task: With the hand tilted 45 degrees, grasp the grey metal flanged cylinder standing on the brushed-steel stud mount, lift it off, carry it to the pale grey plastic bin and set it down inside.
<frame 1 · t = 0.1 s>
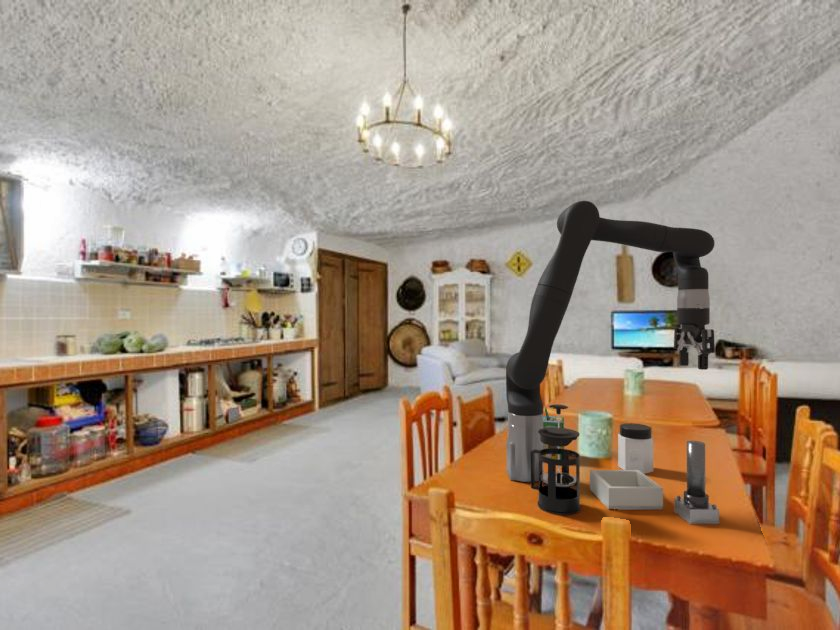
hand: (693, 367, 124), 29 cm above the table, tool pointing down, fingers open, 8 cm apart
french press: (556, 506, 106), on the table
grey metal flanged cylinder: (696, 503, 99), point 3 cm above the table, touching stud mount
stud mount: (696, 517, 99), on the table
bin: (624, 498, 109), on the table
jar: (635, 469, 130), on the table
chalk box: (549, 456, 142), on the table
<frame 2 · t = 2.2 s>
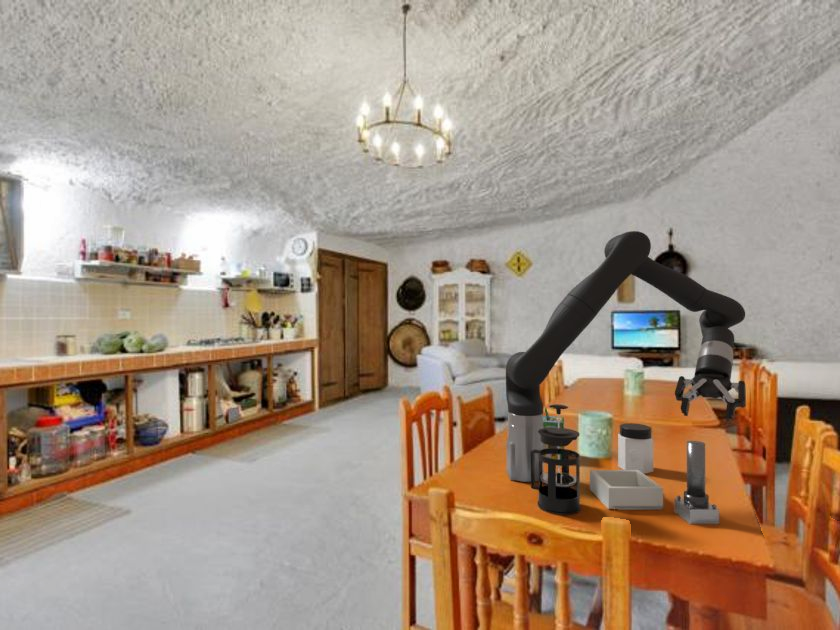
hand: (706, 416, 108), 20 cm above the table, tool tilted 45°, fingers open, 8 cm apart
nothing on the table moved.
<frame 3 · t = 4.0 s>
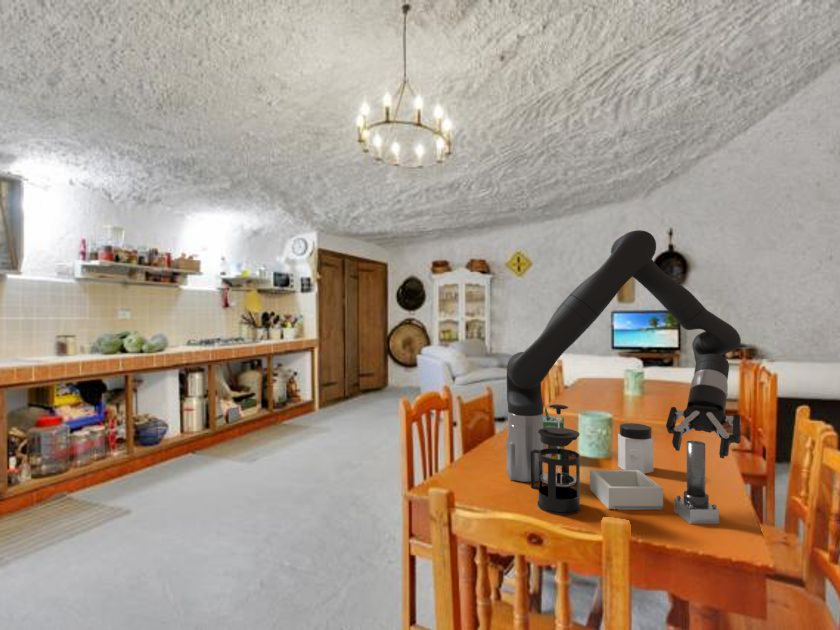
hand: (698, 452, 102), 13 cm above the table, tool tilted 45°, fingers open, 8 cm apart
nothing on the table moved.
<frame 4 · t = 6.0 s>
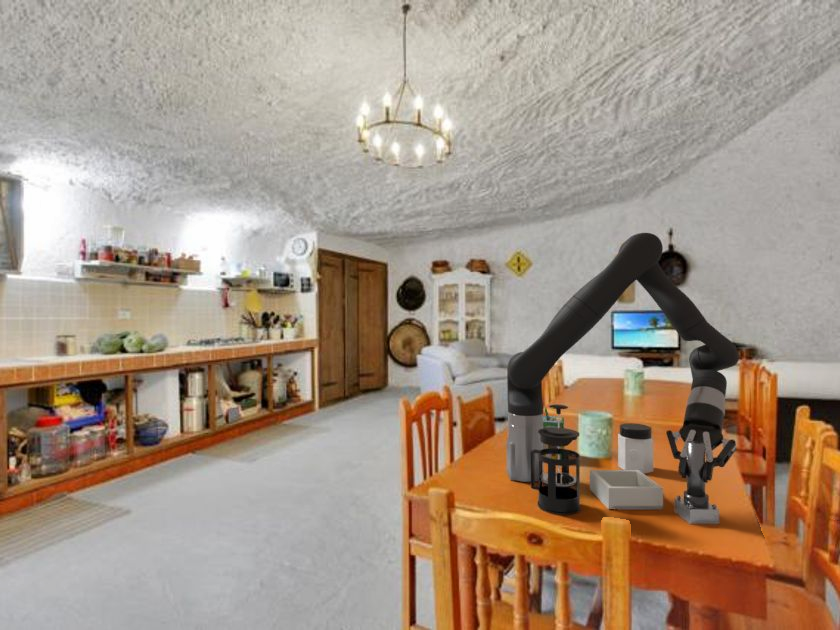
hand: (694, 478, 98), 9 cm above the table, tool tilted 45°, fingers closed on grey metal flanged cylinder, 3 cm apart
grey metal flanged cylinder: (696, 503, 99), point 3 cm above the table, touching gripper, stud mount
everything else where it was.
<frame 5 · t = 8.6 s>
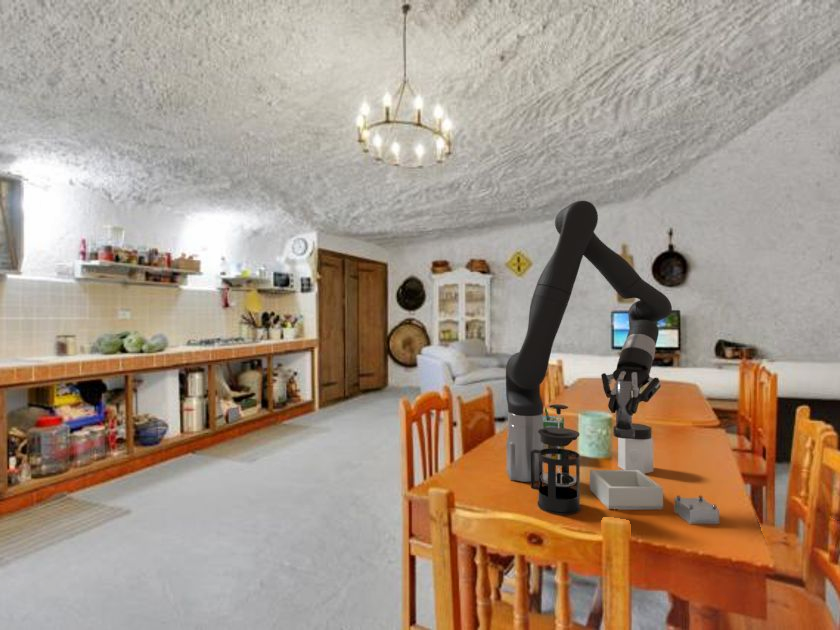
hand: (621, 412, 108), 21 cm above the table, tool tilted 45°, fingers closed on grey metal flanged cylinder, 3 cm apart
grey metal flanged cylinder: (623, 436, 109), point 15 cm above the table, touching gripper
everything else where it was.
when the fingers open (9 cm above the table, at t = 11.1 s): grey metal flanged cylinder drops 2 cm, resting on bin.
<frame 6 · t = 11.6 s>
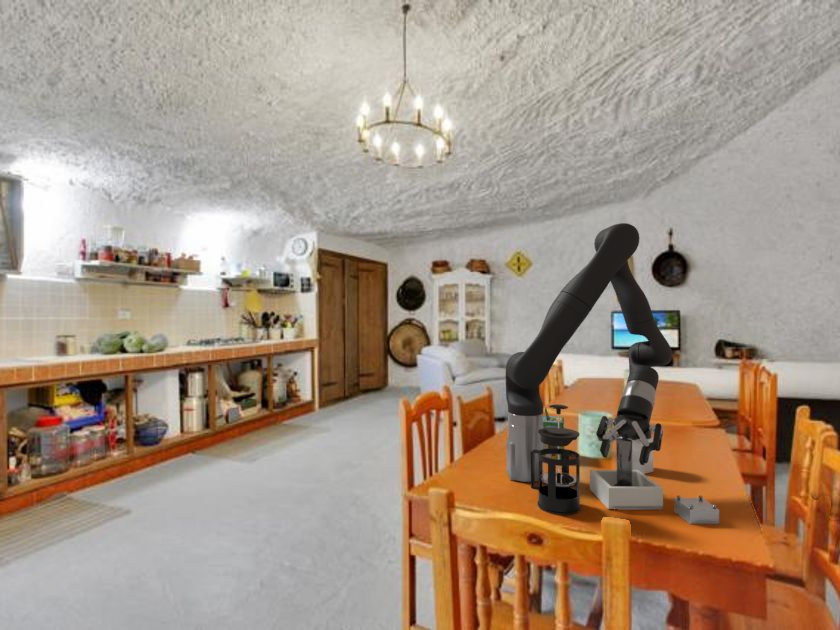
hand: (622, 459, 108), 10 cm above the table, tool tilted 45°, fingers open, 8 cm apart
grey metal flanged cylinder: (624, 495, 109), point 1 cm above the table, touching bin
everything else where it was.
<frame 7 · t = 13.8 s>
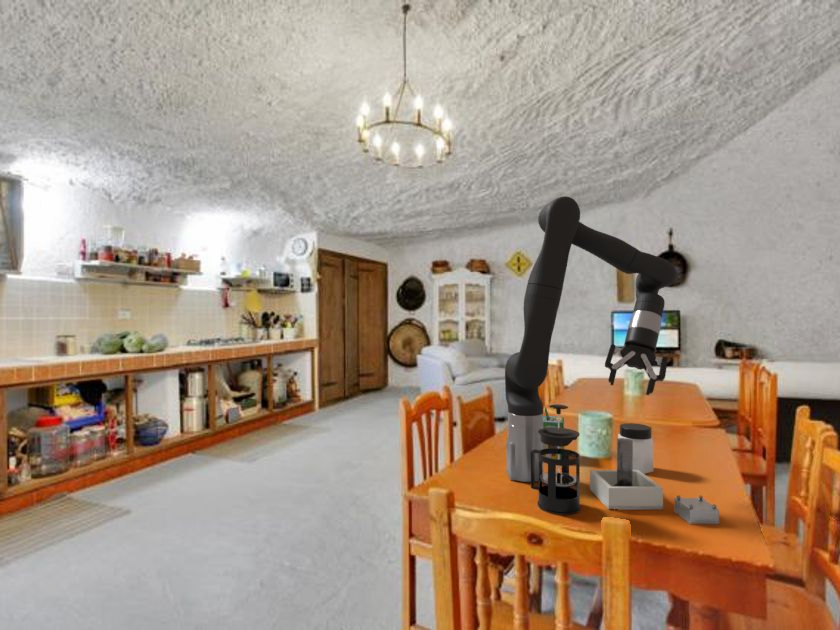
hand: (629, 389, 118), 24 cm above the table, tool tilted 25°, fingers open, 8 cm apart
nothing on the table moved.
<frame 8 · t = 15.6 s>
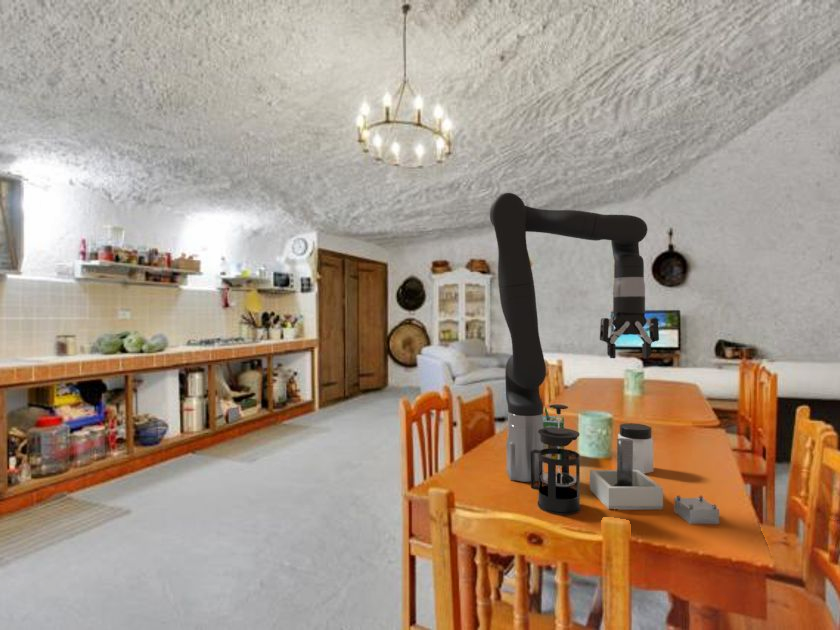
hand: (629, 358, 120), 32 cm above the table, tool pointing down, fingers open, 8 cm apart
nothing on the table moved.
at the end: grey metal flanged cylinder inside the target area on the bin (0.1 cm from its centre), point 0.8 cm above the bin's base; the gripper is holding nothing; grey metal flanged cylinder touching bin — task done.
